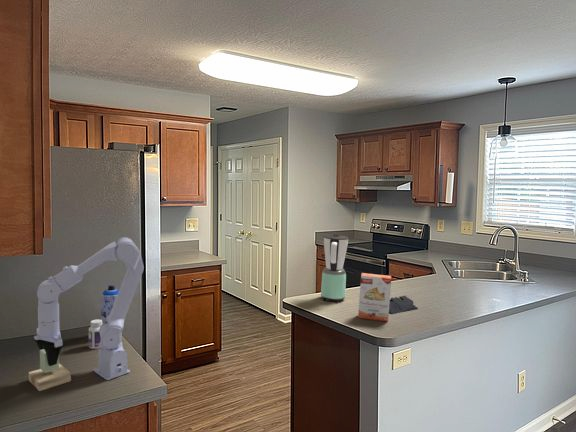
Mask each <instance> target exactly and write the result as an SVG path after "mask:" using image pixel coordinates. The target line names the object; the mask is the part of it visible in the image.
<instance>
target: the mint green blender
mask: <svg viewBox="0 0 576 432" xmlns="http://www.w3.org/2000/svg"><path fill="white" fill-rule="evenodd" d="M349 239H350V238H349V236H345V235H342V234H327V235H323V247H324V248H323V250H324V259H325V267H324V268H323V269H322V274H321V286H320V287H321V289H320V297H321V298H322V301H323V302H327V301H332V302H337V303H342V301H343V300H344V299H346V289H347V288H346V285H347V283H346V282H347V273H346V270H345V269H344V263H345V259H346V254H347V251H348V250H347V249H348V246H349V245H348V244H349Z"/></svg>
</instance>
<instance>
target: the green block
mask: <svg viewBox="0 0 576 432" xmlns="http://www.w3.org/2000/svg"><path fill="white" fill-rule="evenodd" d="M59 364H60V356H59V357H58V361H57V364H55V365H52V366H49V365H48V361H47V355H46V352H45V350H44V349H42V350H39V369H41V370H42V371H43V372H45V373H47V372H50V371H54V370H57V369H59Z"/></svg>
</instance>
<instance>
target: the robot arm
mask: <svg viewBox="0 0 576 432" xmlns="http://www.w3.org/2000/svg"><path fill="white" fill-rule="evenodd" d="M117 258H118V259H119V260H120V261H122V262H123V264H124V265H125V267H126V272H125V275H124V278H122V282H121V285H120V287H119V289H118V290H119V292H118V295H117V297H116V300H115V302H114V305H113V307H112V310H111V313H110V314H109V315H108V317H107V319H106V321H105V322H104V323H103V324H102V325H101V327H100V329H99V333H100V337H101V342H100V343H99V345H98V346H99V347H98V349H97V350H98V354H97V355H98V357H97V359H98V367H95V368H93V369H92V371H93V372H94V373H96V374H97V375H99V376H100V377H101V378H103V379H104V380H106V381H109V380H112V379H115V378H118V377H121V376H123V375H126V374H130V372H131V370H130V369H128V353H127V352H126V350H125V349H124V347H123V341H122V340H123V336H122V335H121V333H122V334H123V330H124V325H125V319H126V316H127V314H128V312H129V310H130V309H129V308H130V306H131V303H132V301H133V299H134V295H135V293H136V291H137V288H138V285H139V283H140V281H141V277H142V275H143V273H144V268H145V267H144V261H143V258H142V254H141V251H140V249H139V248H138V247H137V245H136V244H135V241H133V239H131V238H130V237H126V236H123V237H120V238H118V239H117V240H116V241H112V242H111V243H109V244H107V245H106V246H104V247H102V248H101V249H100V250H99V251H97V252H95V253H94V254H93V255H91V256H90V257H89V258H87V259H85V260H84V261H82V262H81V263H80V264H78V265H69V266H67V265H66V266H63V268H62V270H61V271H60V272H59V273H57V274H55V275H53V276H49V277H48V278H47V279H46V280H43V281H42V282H41V283H39V285H38V287H37V291H36V295H37V299H38V300H37V303H38V304H37V305H38V306H37V323H38V325H37V327H36V335H34V336H33V339H34V342H35V343H36V346H37V347H38V349H39V351H40V350H42V349H44V350H45V352H46V355H47V361H48V365H49V366H52V365H55V364H57V361H58V357H59V358H60V353H61V351H62V348H63V347H64V346H65V342H64V341H63V339H62V336H61V335H62V334H61V331H60V303H59V297H60V294H61V293H64V292H66V291H68V290H69V289H71V288H72V287H74V286H76V285H77V284H78V283H80V282H81V281H83V279H84V275H85V274H87V273H88V272H91V271H92V270H93V269H95V268H97V267H98V266H100V265H101V264H103V263H106V262H110V261H111V262H112V261H113V262H115V261H116V262H117V261H118V259H117Z"/></svg>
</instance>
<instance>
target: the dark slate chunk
mask: <svg viewBox="0 0 576 432" xmlns="http://www.w3.org/2000/svg"><path fill="white" fill-rule="evenodd" d="M416 310H419V308H418V307H417V306H416V305H414V301H413V300H412V299H410V298H409V297H408V296H406V295H401V296H398V297H397V296H395V297H390V303H389V315H395V314H400V313H401V314H402V313H405V312H411V311H416Z"/></svg>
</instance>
